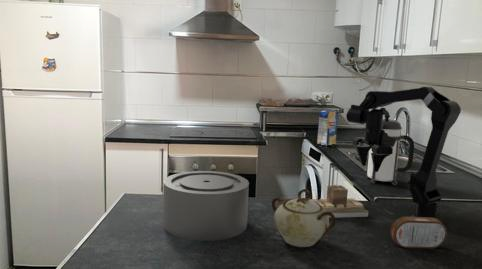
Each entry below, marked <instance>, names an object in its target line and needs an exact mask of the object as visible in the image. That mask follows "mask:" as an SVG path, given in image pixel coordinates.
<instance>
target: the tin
mask: <svg viewBox="0 0 482 269" xmlns="http://www.w3.org/2000/svg"><path fill="white" fill-rule="evenodd" d="M389 232H390V237H391V238H392V240H393V241H394V242H395V243H396V244H397V245H398V246H400V247H401V248H405V249H408V248H409V249H431V250H432V249H436V248H437V249H438V248H439V247H441V246H442V245H443V244H444V243H445V242H446V239H447V236H448V230H447V227H446V226H445V225H444V223H443V222H442V221H441V220H440V219H438V218H429V217H411V216H401V217H398V219H396V220H395V221H394V222H393V223H392V224H391V226H390V231H389Z"/></svg>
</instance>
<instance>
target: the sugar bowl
mask: <svg viewBox="0 0 482 269" xmlns="http://www.w3.org/2000/svg"><path fill="white" fill-rule="evenodd" d="M303 193H306V194H307V197H302V196H301V195H302V194H303ZM310 199H311V192H310V191H309V190H308V189H307V188H303V189H301V190H299V191H298V194H297V198H293V199H289V200H287V199H284V198H282V197H280V196H276V197H275V196H274V198H272V200H271V207H272V210H273V212H274V216H273V217H274V218H273V220H274V223H275V226H276V228H277V231H278V232H279V234H280V235H281V236H282V238H283V240H284V241H285V243H287V244H289V245H291V246H293V247H298V248H307V247H308V248H309V247H312V246H314V245H315V244H316V243H317V242H318V241H319V240H320V239H321V238H322V237H324V236H325V235H326V234H327V233H328V232H329V231H330V230H332V229H333V228H334V227H335V225H336V222H337V221H336V220H337V219H336V218H335V216H334V215H333V213H332V212H329V211H325V210H324V209H323V207H322V206H321V205H320V204H318V203H316V202H313V201H311V200H310ZM276 201H277V202H278V205H276ZM282 202H283V203H282ZM328 215H329V216H330V217H331V223H330V218H329V217H328Z"/></svg>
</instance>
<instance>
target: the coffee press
mask: <svg viewBox="0 0 482 269" xmlns="http://www.w3.org/2000/svg"><path fill="white" fill-rule="evenodd" d="M390 117H391V114H389V115H383V123H382V130H384V131H385V133H387V134H388V136H390V137H392V138H395V139H397V140H396V142H395V144H394V147H392V148H393V154H390V156H387V157H385V158H384V160H383V162H382V164H381V166H380V168H379V170H378V172H375V171H374V167H373V161H372V156H371V153H373V152H372V150H371V149H372V148H371V149H370V150H369V151H368V158H367V159H368V162H367V172H366V174H365V176H364V177H365V178H366V179H371V180H370V181H369V182H370V184H372V185H374V184H375V183H376V182H377V181H379V182H390V183H391V184H392V185H393V186H397V185H398V181H397V179H396V178H397V173H405V172H407V171H409V170H410V169H411V168H412V166H413V162H414V154H415V143H414V140H413V138H412V137H411V136H408V135H405V134H403V135H401V132H402V131H401V130H402V129H403V126H402V125H401V123H400V121H398V120H394V119H390ZM401 140H405V141H408V144H409V149H408V156H407V157H408V158H407V164H406V166H404V167H398V159H399V150H400V142H401Z"/></svg>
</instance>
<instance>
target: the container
mask: <svg viewBox="0 0 482 269" xmlns="http://www.w3.org/2000/svg"><path fill="white" fill-rule="evenodd" d="M249 187H250V182H249V180H248V179H246V178H245V177H244V176H243V177H242V176H241V175H238V174H234V173H229V172H223V171H215V170H213V171H211V170H195V171H193V170H192V171H184V172H179V173H178V172H177V173H175V174H171V175H168V176H167V177H165V179H164V180H163V198H162V201H163V202H162V209H163V210H162V227H163V229H164V230H165V232H167V233H168V234H170V235H172V236H174V237H177V238H180V239H184V240H191V241H199V242H200V241H201V242H212V241H224V240H227V239H231V238H235V237H237V236H239V235H241V234H243V233H244V232H245V231H246V229H247V227H248V211H249V206H248V205H249V190H250V189H249Z"/></svg>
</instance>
